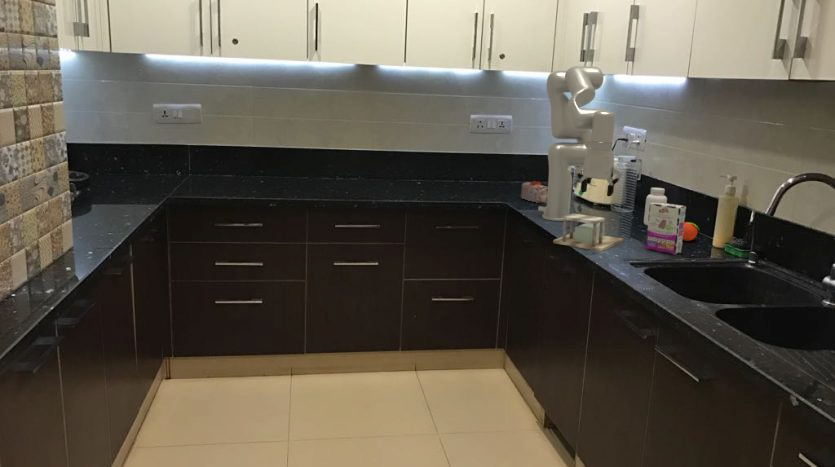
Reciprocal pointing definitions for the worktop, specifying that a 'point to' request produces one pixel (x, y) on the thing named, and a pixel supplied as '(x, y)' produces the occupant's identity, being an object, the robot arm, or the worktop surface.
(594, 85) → the robot arm
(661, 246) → the candy bar box
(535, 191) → the food item
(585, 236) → the pale green block
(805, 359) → the worktop surface
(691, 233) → the clementine
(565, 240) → the overhang stand
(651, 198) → the pill bottle
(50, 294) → the worktop surface
